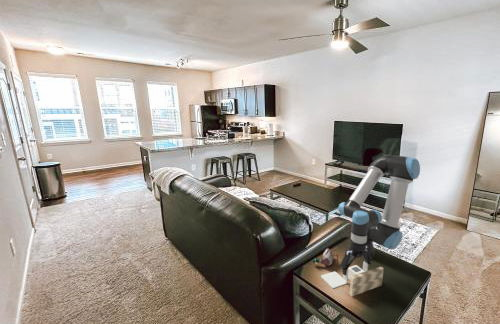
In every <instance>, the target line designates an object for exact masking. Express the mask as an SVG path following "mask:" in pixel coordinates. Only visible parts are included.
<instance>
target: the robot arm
mask: <svg viewBox="0 0 500 324" xmlns="http://www.w3.org/2000/svg"><path fill="white" fill-rule="evenodd" d="M420 172H421V164H420V161H419V160H418V159H417V158H415V157H411V156H410V157H409V156H403V155H394V154H385V155H382V156H379V157H377V158H376V159H375V160H374V161H372V162H371V163H370V165H369V166H368V167H367V172H366V173H365V175H364V176H363V178H362V180H361V181H360V183H358V184H357V185H358V186H356V188H355V190H354V191H353V192H352V194H351V195H350V197H349V199H348V200H347V201H346V202H345V201H343V202H341V203H339V204H338V213H339V214H340V215H341V216H344V217H347V218H349V219H351V233H350V243H348V249H349V250H347V249H346V250H345V253H344V256H343V258H342V261H341V262H340V264H339V268H340V269H341V270H342V278H343V279H344V280H345V281H347V282H348V280H349V278H348V271H349V270H348V268H349V267H351V265H352V263H353V262H354V261H355V260H356V259H358V258H362V259H363V260H364V261H363V263H362V270H364V271H365V272H366V271H369V266H370V265H371V264H372V262H373V258H372V257H374V255H375V253H376V251H375V246H374V243H375V244H378V245H380V246H382V247H383V248H387V249H388V250H389V249H390V250H394V249H396V248H398V246H399V245H400V243H401V242H402V240H403V235H404V234H403V232H402V231H401V226H400V225H399V221H400V217H401V214H402V210H403V207H404V203H405V198H406V196H407V191H408V188H409V185H410V184H411V183H413V181H414V180H417V179H418V178H419V176H420ZM385 174H389V178H390V179H391V182H390V186H389V189H388V193H387V196H386V199H385V200H386V201H385V205H384V208H383V212H382V214H381V212H380V211H379V210H376V209H370V210H369V209H366V208H362V205H363V203H364V202H365V201H366V200H367V197H368V196H369V194H370V193H371V192H372V190H373V189H374V187H375V185H376V184H377V183H378V181H379V180H380V178H383V177H384V175H385Z"/></svg>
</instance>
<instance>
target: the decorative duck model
mask: <svg viewBox="0 0 500 324" xmlns="http://www.w3.org/2000/svg"><path fill="white" fill-rule="evenodd" d="M335 256H336V259H334V257H335ZM311 261H312V263H313V264H315V265H316V266H319V263H320V264H322V265H324V266H326V267H329V266H331V265H333V262H334V261H336V263H337V264H339V255H338V253H337V254H333V252H332V251H331V249H329V248H326V249H325V250H324V252H323V253H322V256H321V258H320V259H319V258H313V259H312V260H311Z"/></svg>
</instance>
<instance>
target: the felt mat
mask: <svg viewBox="0 0 500 324" xmlns="http://www.w3.org/2000/svg"><path fill="white" fill-rule="evenodd" d="M320 278H321V279H322V280H323V281H325V283H326V284H327V285H329V287H331V289H336V288H338V287H341V286H345V285H347V284H349V282H348V281H345V280H344V279H343V276H341V275H340V274H339V273H338V272H336V271H331V272H327V273H325V274H322V275H320Z"/></svg>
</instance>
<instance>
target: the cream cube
mask: <svg viewBox="0 0 500 324" xmlns="http://www.w3.org/2000/svg"><path fill="white" fill-rule="evenodd" d="M348 270H349V271H348V280H350V279H351V276H354V275H357V274H360V273H363V272H365V271H364V270H363V268H361V267H360V266H359V265H357V264H355V265H352V266H351V265H350V266H349V268H348Z"/></svg>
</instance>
